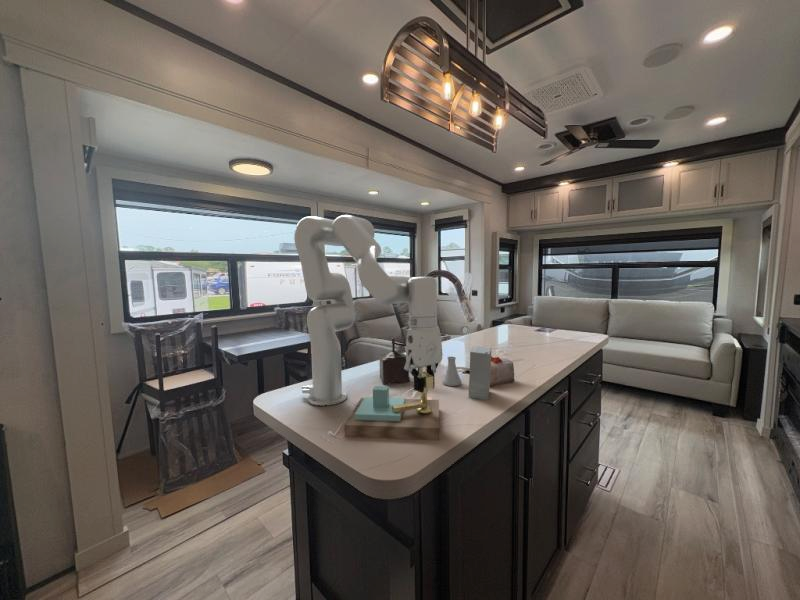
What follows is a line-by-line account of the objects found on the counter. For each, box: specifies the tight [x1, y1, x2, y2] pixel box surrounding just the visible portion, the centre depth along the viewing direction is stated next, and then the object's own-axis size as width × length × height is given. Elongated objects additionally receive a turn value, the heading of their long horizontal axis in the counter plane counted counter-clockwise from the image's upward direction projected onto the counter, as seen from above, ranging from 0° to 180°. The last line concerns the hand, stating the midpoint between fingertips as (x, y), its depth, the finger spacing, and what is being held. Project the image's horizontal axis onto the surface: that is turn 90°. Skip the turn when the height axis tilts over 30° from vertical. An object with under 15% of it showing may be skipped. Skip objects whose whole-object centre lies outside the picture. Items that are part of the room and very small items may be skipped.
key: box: [392, 368, 434, 414], centre depth 84 cm, size 11×8×11 cm
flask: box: [441, 356, 462, 387], centre depth 117 cm, size 7×7×10 cm
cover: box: [355, 385, 406, 421], centre depth 87 cm, size 12×12×6 cm
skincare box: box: [468, 345, 492, 400], centre depth 105 cm, size 8×7×16 cm
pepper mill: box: [379, 337, 410, 386], centre depth 123 cm, size 16×11×18 cm
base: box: [343, 397, 440, 441], centre depth 87 cm, size 24×18×3 cm
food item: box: [490, 355, 515, 387], centre depth 117 cm, size 14×8×10 cm, turn 115°
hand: (424, 388), depth 85 cm, fingers closed on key, 3 cm apart
